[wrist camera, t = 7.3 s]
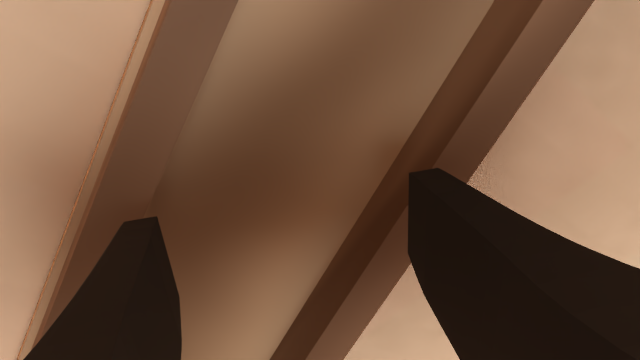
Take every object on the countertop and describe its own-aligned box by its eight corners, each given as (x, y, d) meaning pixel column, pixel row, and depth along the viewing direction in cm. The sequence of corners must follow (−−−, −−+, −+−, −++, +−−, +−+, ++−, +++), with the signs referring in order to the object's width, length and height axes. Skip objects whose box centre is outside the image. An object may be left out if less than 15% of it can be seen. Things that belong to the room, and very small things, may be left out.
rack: (639, -185, 12) (736, -188, 10) (245, 426, 20) (252, 498, 17) (323, -461, 9) (365, -550, 7) (4, 391, 16) (-21, 472, 14)
